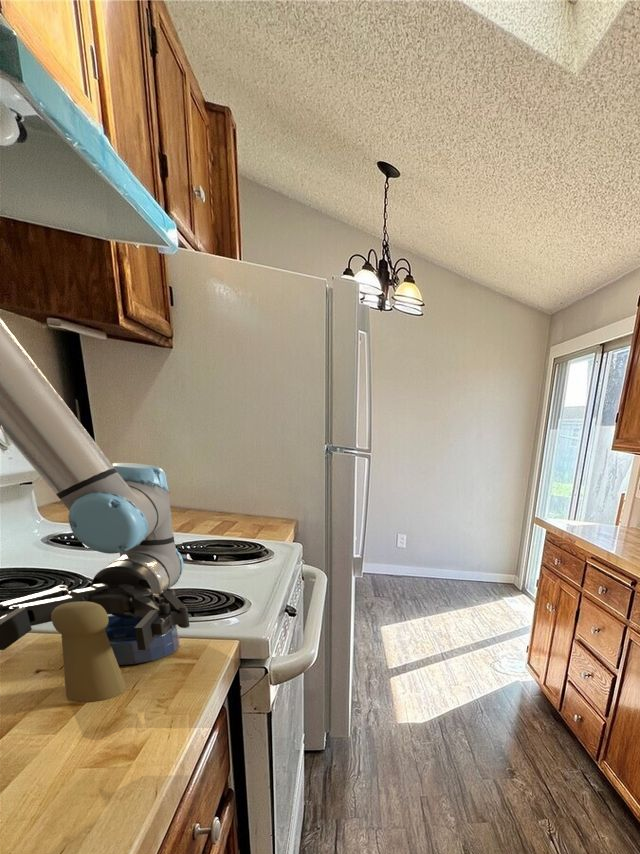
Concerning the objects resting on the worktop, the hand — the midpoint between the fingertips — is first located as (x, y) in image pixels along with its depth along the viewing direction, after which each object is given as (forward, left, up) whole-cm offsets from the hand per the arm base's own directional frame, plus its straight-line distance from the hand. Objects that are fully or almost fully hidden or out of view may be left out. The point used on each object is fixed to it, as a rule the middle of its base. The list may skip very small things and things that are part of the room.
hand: (70, 638), depth 61 cm
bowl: (-2, +16, -8) cm, 18 cm away
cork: (0, +3, -8) cm, 9 cm away
